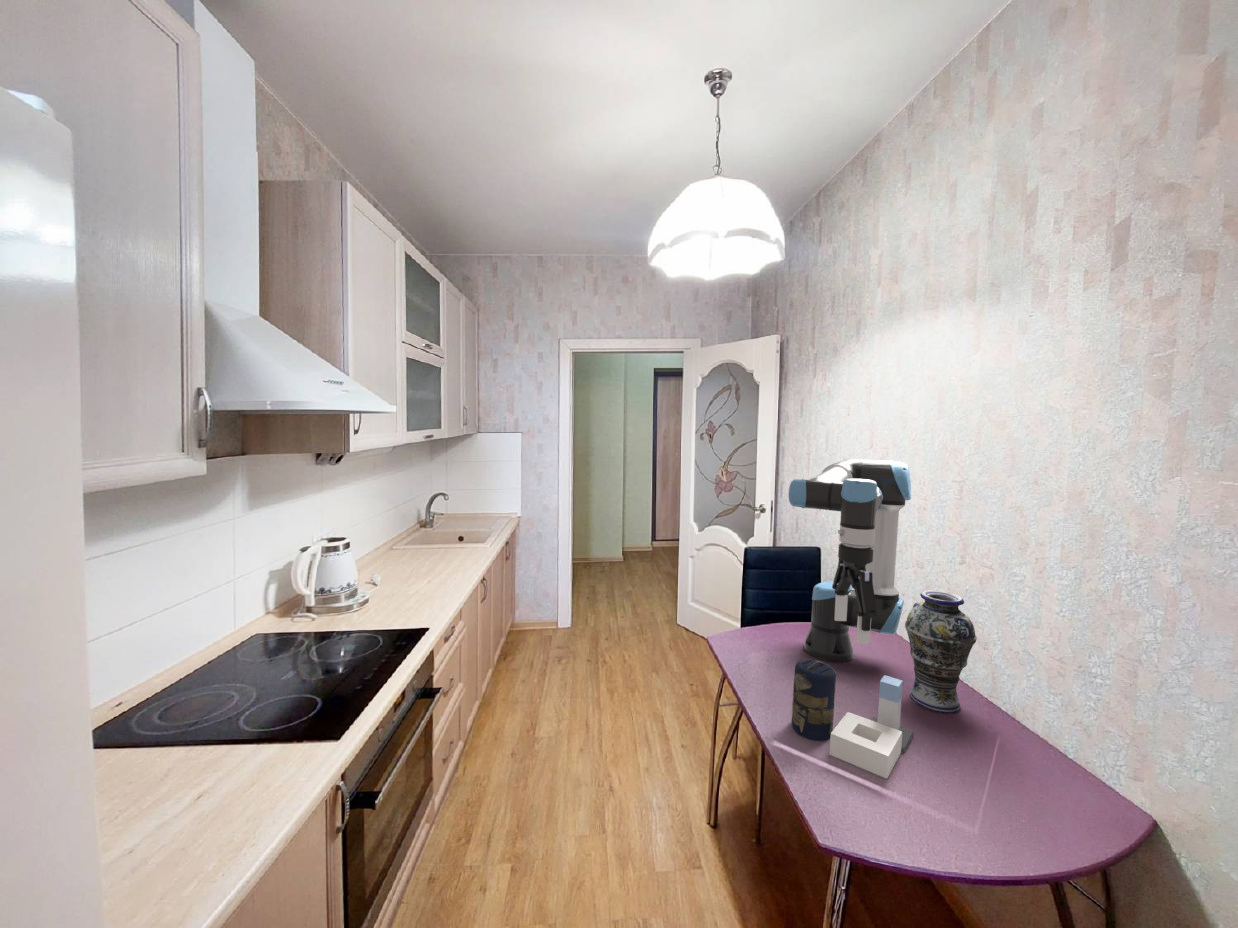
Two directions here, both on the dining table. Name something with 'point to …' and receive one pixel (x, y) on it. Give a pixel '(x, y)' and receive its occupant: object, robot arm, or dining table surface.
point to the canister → (813, 699)
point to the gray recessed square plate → (906, 736)
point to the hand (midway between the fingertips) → (851, 631)
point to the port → (866, 744)
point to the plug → (890, 702)
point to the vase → (938, 649)
